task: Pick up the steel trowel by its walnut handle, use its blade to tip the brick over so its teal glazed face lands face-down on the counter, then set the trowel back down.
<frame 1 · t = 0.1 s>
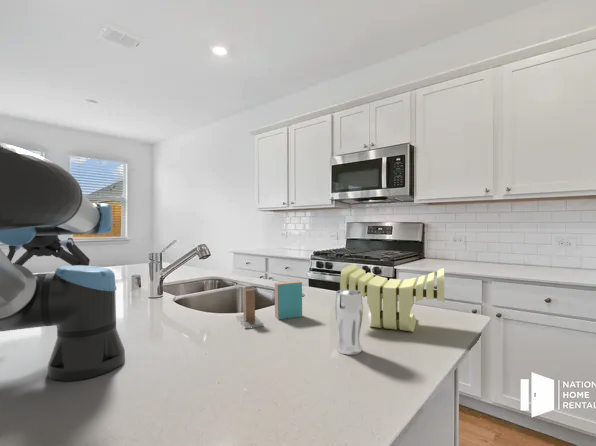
hand: (52, 284, 98), 15 cm above the counter, tool tilted 35°, fingers open, 13 cm apart
beer glass: (349, 351, 85), on the counter
slatted curved stool: (393, 325, 106), on the counter
trowel: (249, 322, 109), on the counter
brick: (288, 317, 115), on the counter
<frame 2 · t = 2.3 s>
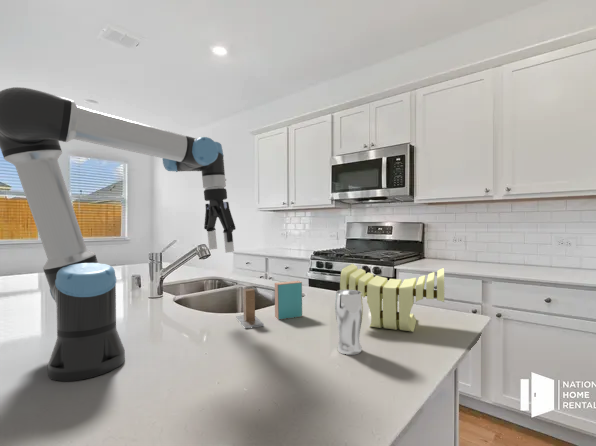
hand: (221, 250, 114), 23 cm above the counter, tool pointing down, fingers open, 13 cm apart
nothing on the counter moved.
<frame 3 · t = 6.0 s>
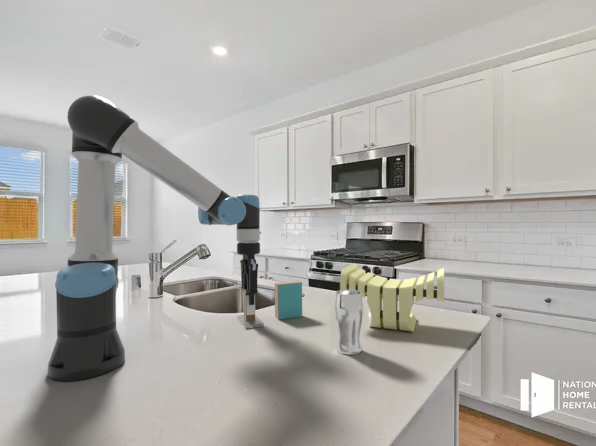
hand: (249, 312, 109), 3 cm above the counter, tool pointing down, fingers closed on trowel, 3 cm apart
trowel: (249, 322, 109), on the counter, touching gripper
everything else where it was.
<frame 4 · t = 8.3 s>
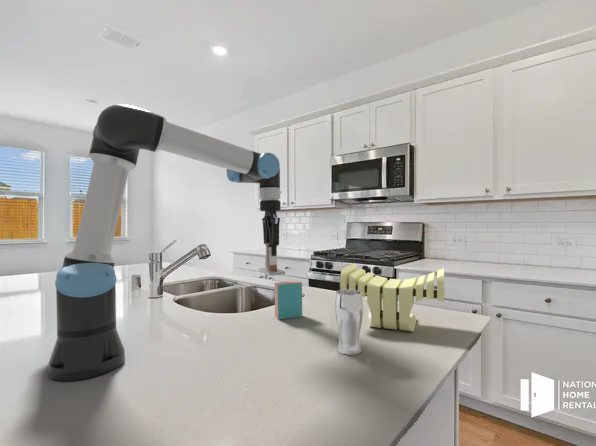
hand: (271, 264, 121), 18 cm above the counter, tool pointing down, fingers closed on trowel, 3 cm apart
trowel: (271, 272, 121), point 14 cm above the counter, touching gripper
everything else where it was.
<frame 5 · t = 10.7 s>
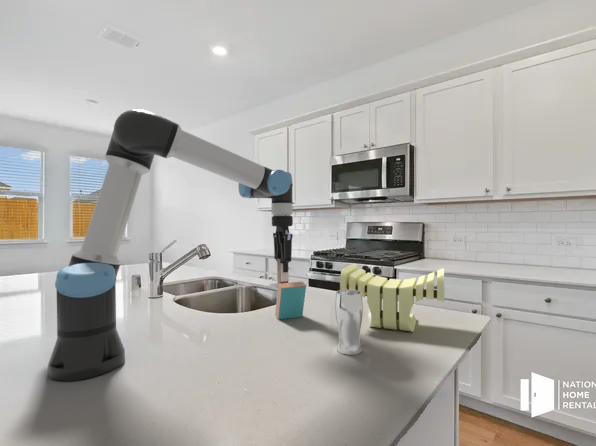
hand: (282, 280, 119), 12 cm above the counter, tool pointing down, fingers closed on trowel, 3 cm apart
trowel: (282, 288, 119), point 9 cm above the counter, touching gripper
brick: (288, 315, 115), on the counter, tilted 17°
everything else where it was.
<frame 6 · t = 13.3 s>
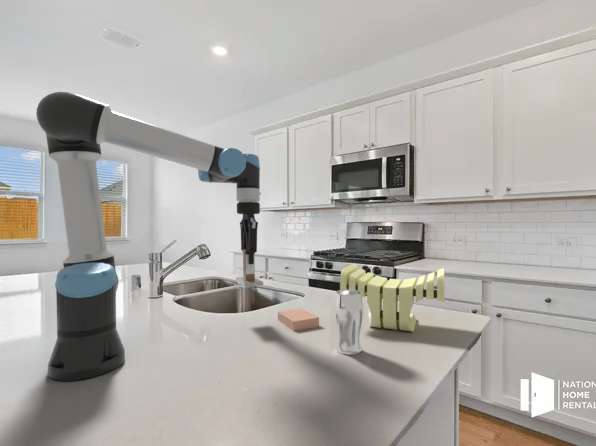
hand: (248, 273, 109), 16 cm above the counter, tool pointing down, fingers closed on trowel, 3 cm apart
trowel: (249, 282, 109), point 13 cm above the counter, touching gripper
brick: (289, 314, 113), point 1 cm above the counter, tilted 90°
everything else where it was.
when the fingers open (4 cm above the counter, at t = 15.8 s): trowel drops 1 cm, on the counter.
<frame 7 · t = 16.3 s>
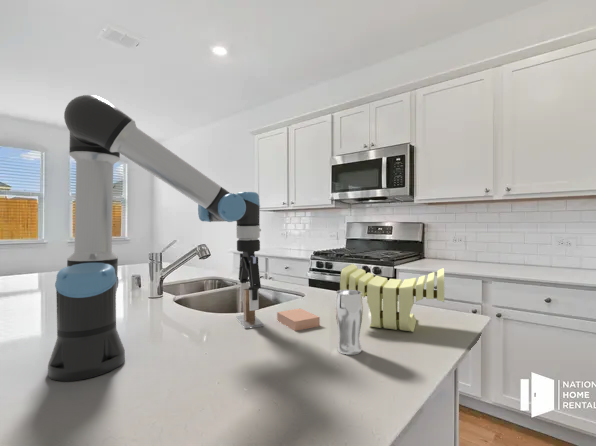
hand: (249, 305, 109), 5 cm above the counter, tool pointing down, fingers open, 11 cm apart
trowel: (249, 322, 109), on the counter
everything else where it was.
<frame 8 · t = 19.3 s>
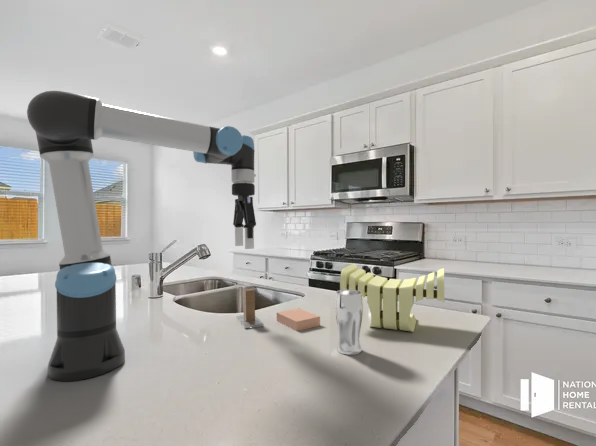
hand: (244, 247, 110), 25 cm above the counter, tool pointing down, fingers open, 13 cm apart
nothing on the counter moved.
at the end: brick tilted 90°; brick inside the target area (2.5 cm from its centre), point 1.3 cm above the counter; trowel inside the target area (1.0 cm from its centre), on the counter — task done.
